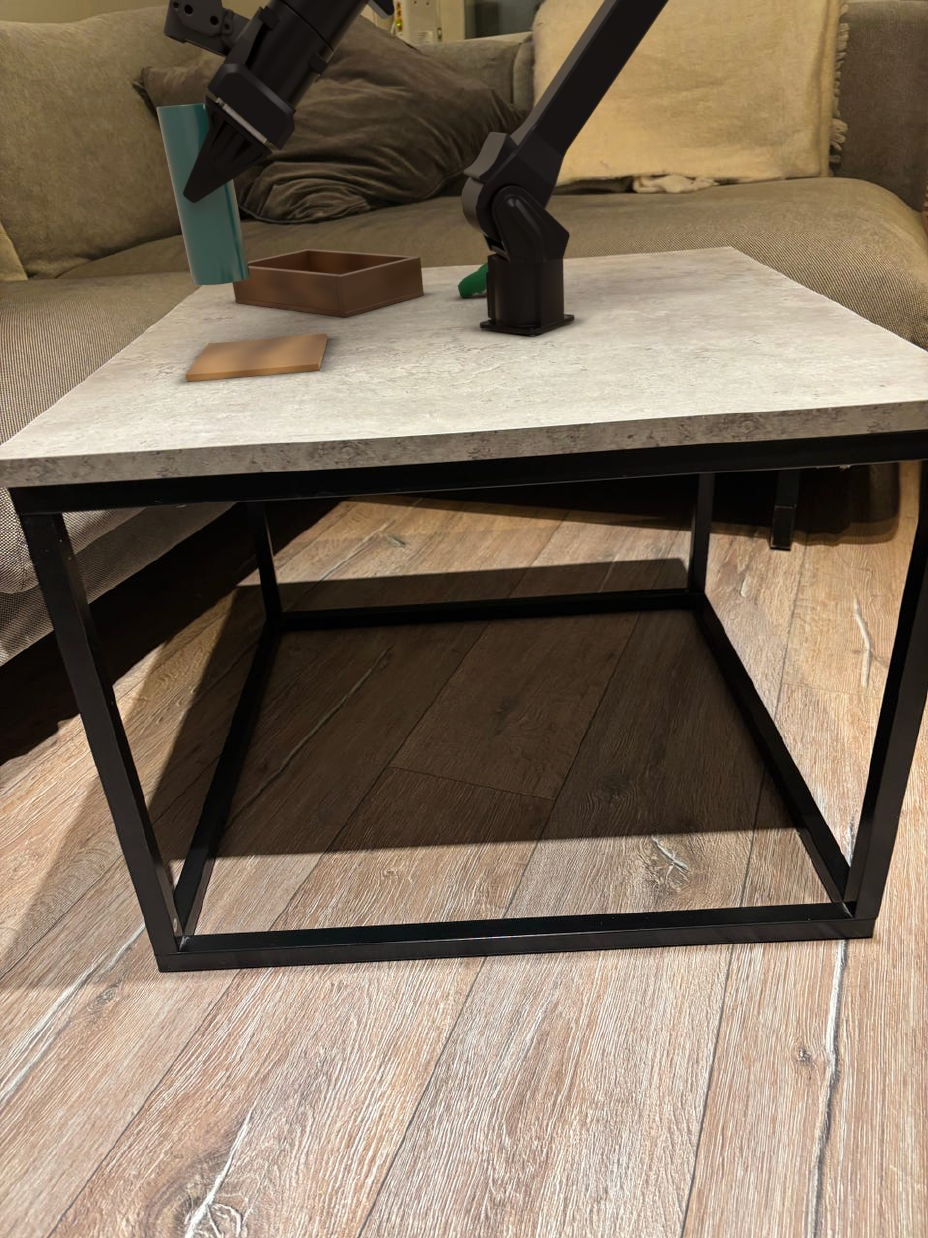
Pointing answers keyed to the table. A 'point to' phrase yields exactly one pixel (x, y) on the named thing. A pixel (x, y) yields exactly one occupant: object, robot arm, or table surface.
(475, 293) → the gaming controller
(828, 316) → the table surface
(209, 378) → the mat
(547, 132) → the robot arm
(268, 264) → the basket
